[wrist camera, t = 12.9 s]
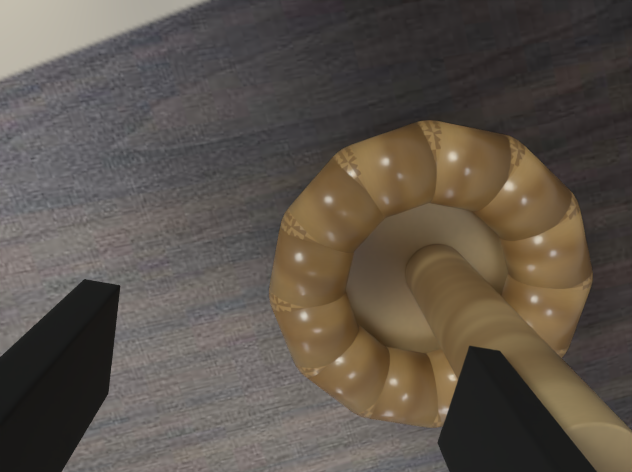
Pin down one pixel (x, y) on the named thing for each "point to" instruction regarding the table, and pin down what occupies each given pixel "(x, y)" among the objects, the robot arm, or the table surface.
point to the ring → (399, 196)
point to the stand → (471, 316)
